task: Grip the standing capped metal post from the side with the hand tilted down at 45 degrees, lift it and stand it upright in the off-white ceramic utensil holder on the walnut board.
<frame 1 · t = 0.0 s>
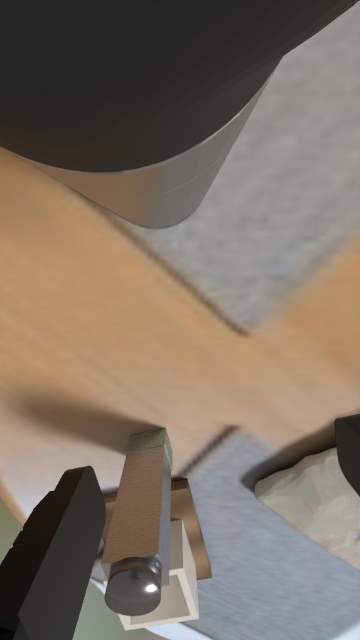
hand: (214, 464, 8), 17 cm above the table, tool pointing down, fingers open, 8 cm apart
capped metal post: (151, 443, 29), on the table
board: (154, 533, 33), on the table
holder: (156, 549, 32), resting on board
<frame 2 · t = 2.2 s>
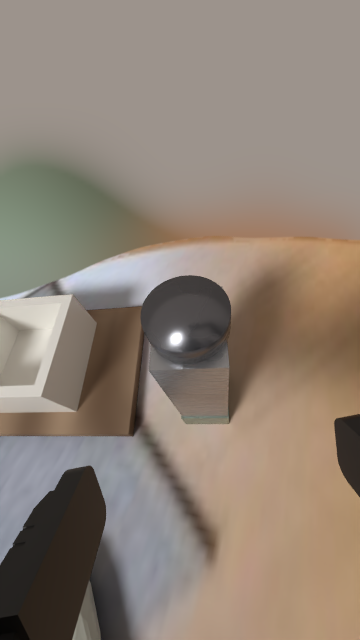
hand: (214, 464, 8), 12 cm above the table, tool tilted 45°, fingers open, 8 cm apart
capped metal post: (206, 397, 21), on the table
board: (62, 369, 24), on the table
holder: (45, 364, 24), resting on board
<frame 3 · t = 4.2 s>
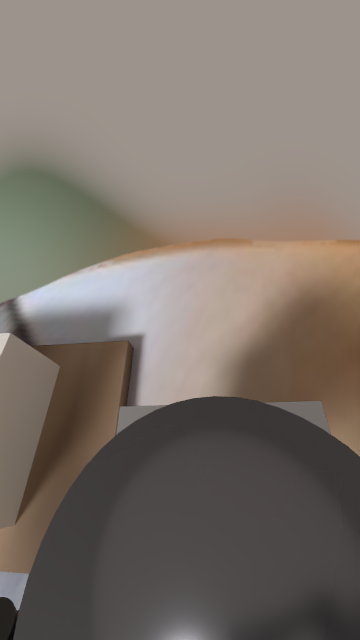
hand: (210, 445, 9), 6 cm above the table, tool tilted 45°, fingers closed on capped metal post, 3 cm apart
capped metal post: (224, 499, 13), on the table, touching gripper
board: (6, 436, 16), on the table
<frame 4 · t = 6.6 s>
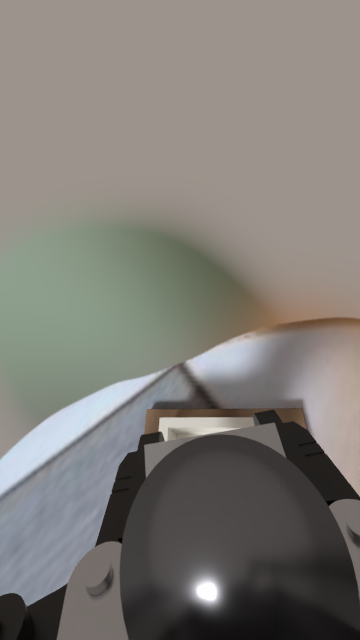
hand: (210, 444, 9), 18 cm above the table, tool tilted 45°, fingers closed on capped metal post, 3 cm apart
capped metal post: (224, 500, 15), point 10 cm above the table, touching gripper
board: (224, 476, 24), on the table
holder: (213, 476, 23), resting on board
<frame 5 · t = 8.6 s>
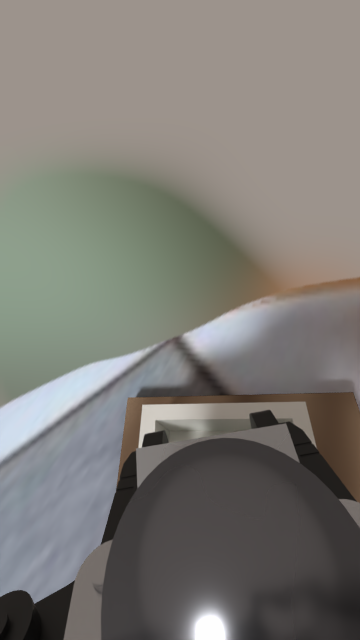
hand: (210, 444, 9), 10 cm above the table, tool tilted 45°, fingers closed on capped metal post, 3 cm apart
capped metal post: (223, 503, 14), point 2 cm above the table, touching gripper, holder
board: (242, 494, 16), on the table
holder: (226, 495, 15), resting on board
when the fingers open (10 cm above the table, at t = 8.7 s): capped metal post stays where it is, resting on holder.
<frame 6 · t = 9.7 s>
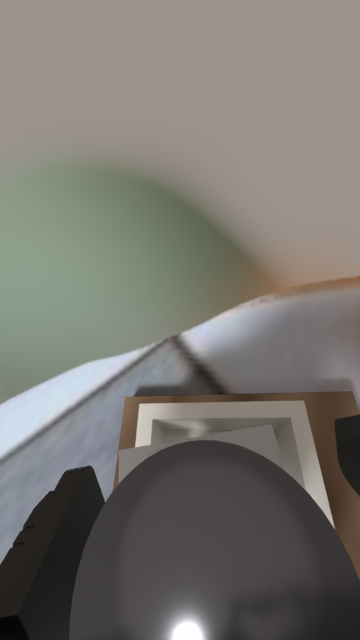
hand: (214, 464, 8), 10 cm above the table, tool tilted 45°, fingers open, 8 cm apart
capped metal post: (220, 503, 14), point 2 cm above the table, touching holder
board: (240, 494, 16), on the table
holder: (224, 495, 15), resting on board
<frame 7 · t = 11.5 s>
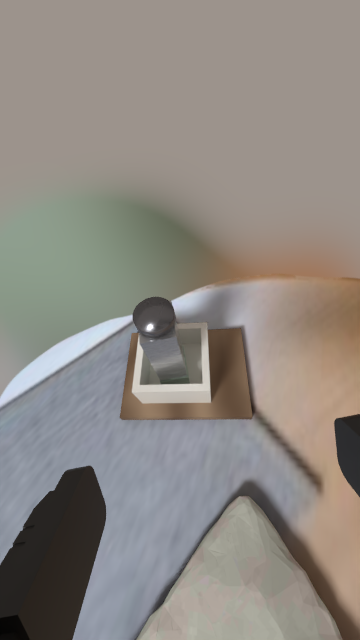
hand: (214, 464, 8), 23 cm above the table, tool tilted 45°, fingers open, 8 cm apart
capped metal post: (174, 370, 32), point 2 cm above the table, touching holder
board: (185, 373, 34), on the table
holder: (177, 370, 33), resting on board
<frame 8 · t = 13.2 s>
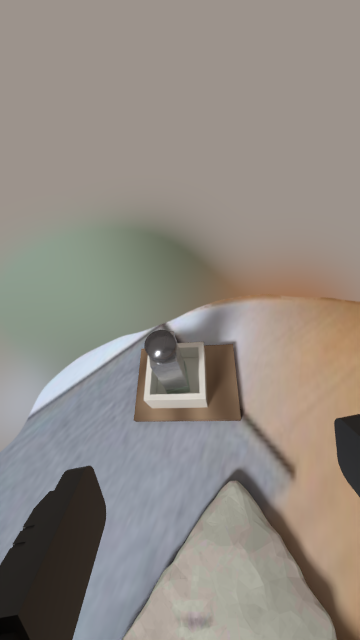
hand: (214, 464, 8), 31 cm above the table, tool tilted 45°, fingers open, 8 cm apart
capped metal post: (177, 380, 39), point 2 cm above the table, touching holder
board: (186, 382, 41), on the table
holder: (179, 380, 40), resting on board
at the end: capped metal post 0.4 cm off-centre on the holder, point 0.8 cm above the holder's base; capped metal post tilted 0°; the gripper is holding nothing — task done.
